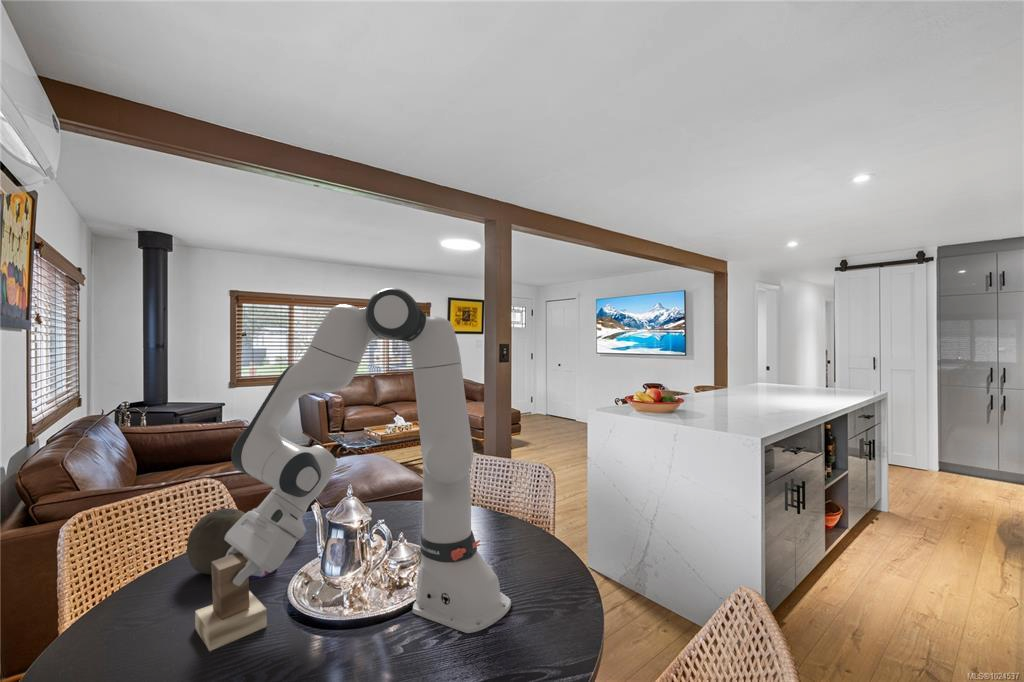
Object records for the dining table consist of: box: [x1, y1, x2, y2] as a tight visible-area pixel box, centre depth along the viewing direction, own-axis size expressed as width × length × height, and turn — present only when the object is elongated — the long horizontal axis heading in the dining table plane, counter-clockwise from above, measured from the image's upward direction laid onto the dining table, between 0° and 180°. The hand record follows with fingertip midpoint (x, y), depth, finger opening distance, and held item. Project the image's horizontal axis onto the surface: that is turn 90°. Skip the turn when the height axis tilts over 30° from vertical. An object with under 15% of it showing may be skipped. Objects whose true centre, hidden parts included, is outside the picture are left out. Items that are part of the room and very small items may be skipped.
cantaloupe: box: [186, 507, 246, 576], centre depth 115 cm, size 14×14×15 cm
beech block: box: [194, 590, 268, 652], centre depth 92 cm, size 10×10×4 cm
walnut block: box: [211, 552, 250, 620], centre depth 92 cm, size 5×5×10 cm
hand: (227, 577), depth 91 cm, fingers open, 6 cm apart
